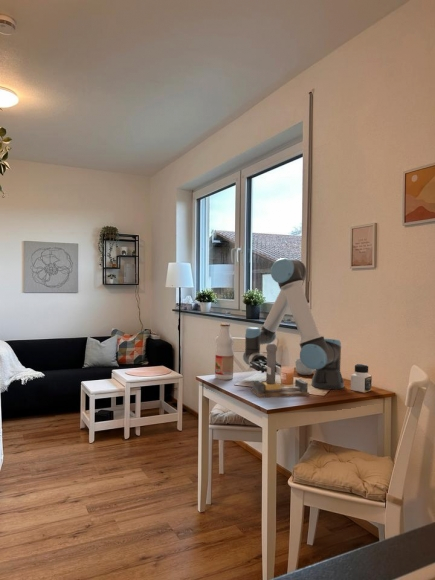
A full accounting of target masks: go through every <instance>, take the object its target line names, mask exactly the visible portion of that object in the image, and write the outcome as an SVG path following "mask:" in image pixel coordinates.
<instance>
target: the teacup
mask: <svg viewBox="0 0 435 580" xmlns="http://www.w3.org/2000/svg"><path fill="white" fill-rule="evenodd" d="M294 363H295V371H296V372H297V373H298V374H299V375H302V376H307V375H308V376H309V375H312V374H314V373H315V370H316V369H309V368H307V367H306V366H305V365H304V364H303V363H302V362H301V359H300V358H297V359H295V360H294Z"/></svg>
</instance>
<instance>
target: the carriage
mask: <svg viewBox="0 0 435 580" xmlns="http://www.w3.org/2000/svg"><path fill="white" fill-rule="evenodd" d="M265 350H266V358H267V366H268V367H270V368H271V375H269V374H268V373H266V372H265V374H266V377H265V378H266V379H265V380H266V381H260V382H261V383H262V384H264V389H265V390H274V389H281V387H282V384H280V383H279V382H278V381H276V362H277V351H278V347H277V345H276V343H274V342H271V343H269V344H266V346H265Z"/></svg>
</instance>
